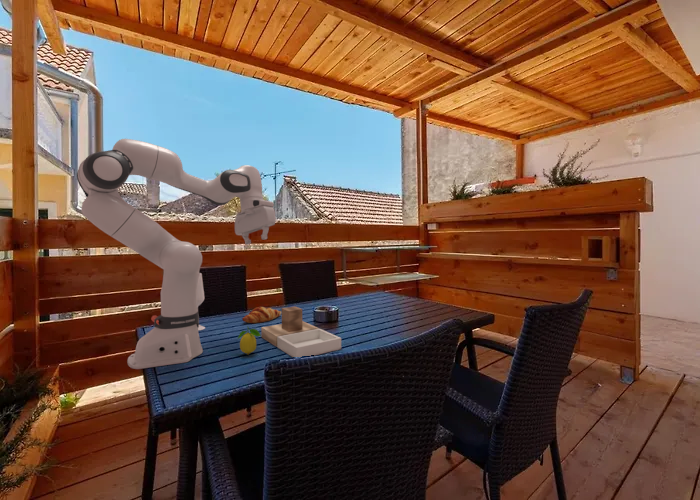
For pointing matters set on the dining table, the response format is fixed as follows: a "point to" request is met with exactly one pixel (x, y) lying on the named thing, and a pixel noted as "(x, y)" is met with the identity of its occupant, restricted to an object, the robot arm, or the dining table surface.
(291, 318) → the walnut block
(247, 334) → the lemon
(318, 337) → the box
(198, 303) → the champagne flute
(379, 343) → the dining table surface
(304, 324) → the wooden board
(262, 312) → the croissant
